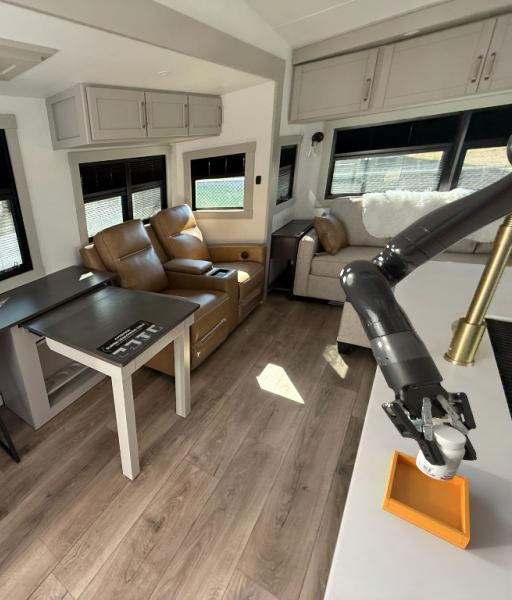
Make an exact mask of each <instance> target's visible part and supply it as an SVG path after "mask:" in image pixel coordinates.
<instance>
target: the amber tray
mask: <svg viewBox="0 0 512 600" xmlns="http://www.w3.org/2000/svg"><path fill="white" fill-rule="evenodd" d="M416 459H417V457H413V456H411V455H408V454H406V453H403V452H401V451H398V450H394V452H393V453H392V457H391V460H390V465H389V470H388V475H387V481H386V485H385V489H384V495H383V500H382V504H381V509H383V510H385V511H386V512H389V513H390V514H392V515H394V516H397V517H398V518H400V519H403V521H404V520H405V521H406V522H408V523H410V524H413V525H414V526H416V527H418V528H420V529H422V530H424V531H425V532H428V533H430V534H432V535H434V536H436V537H438V538H440V539H441V540H444V541H446V542H448V543H450V544H452V545H454V546H456V547H457V548H460V549H462V550H463V551H464V550H466V548H467V546H468V544H469V543H470V541H471V517H470V514H471V513H470V481H469V478H466V477H463V476H461V475H458V474H457V473H456V474H455V476H454V478H453V479H452V480H450V481H441V480H437V479H434V478H432V477H430V476H428V475H426V474H425V473H423V472H422V471H421V470H420V469H419V468H418V466H417V464H416Z"/></svg>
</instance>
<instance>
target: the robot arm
mask: <svg viewBox="0 0 512 600" xmlns="http://www.w3.org/2000/svg"><path fill="white" fill-rule="evenodd" d="M505 151H506V152H505V154H506V158H507V161H508V163H509V165H510V166H511V167H512V134H511V135H510V136H509V139H508V141H507V144H506V150H505ZM511 214H512V171H511V172H509V173H508V174H506V175H505V176H503V177H501V178H500V179H498V180H496V181H494V182H492V183H490V184H489V185H486V186H484V187H483V188H481V189H478V190H476V191H474V192H472V193H470V194H467V195H465V196H463V197H460V198H457V199H455V200H452V201H451V202H448V203H446V204H444V205H441V206H439V207H437V208H436V209H434V210H431V211H429V212H428V213H426V214H424V215H422V216H421V217H419V218H417V219H416V220H415V221H413V222H412V223H410V224H409V225H408V226H406V227H404V229H402V230H400V231H399V232H398V233H396V234H395V235H394V236H393V237H391V238H390V239H388V240H387V242H386V243H385V245H384V247H383V249H382V250H381V251H380V252H379V253H378V254H377V255H375V256H374V257H372V258H371V259H363V258H361V259H356V260H352V261H350V262H348V263H346V264H345V265H344V266H343V267H342V269H341V270H340V272H339V277H338V278H339V284H340V286H341V289H342V291H343V293H344V294H345V296H346V298H347V301H348V302H349V303H350V305H351V306H352V308H353V310H354V311H355V312H356V314H357V317H358V318H359V321H360V324H361V327H362V329H363V331H364V333H365V335H366V337H367V339H368V341H369V342H368V343H369V345H370V348H371V351H372V354H373V357H374V358H375V361H376V362H377V365H378V367H379V370H380V372H381V374H382V376H383V378H384V380H385V382H386V384H387V385H386V386H387V387H388V388H389V389H391V390H392V391H393V393H394V400H393V401H390V402H386V403H382V404H381V409H382V410H383V411H384V412H385V415H386V416H387V417H388V419H389V420H390V421H391V423H392V424H393V426H394V427H395V429H396V430H397V431H398V433H399V435H400V436H401V437H403V438H405V439H411V440H414V441H416V443H417V445H418V446H419V450H420V449H421V451H422V453H423V455H424V457H425V459H426V460H427V461H428V462H429V463H430V464H431V465H436V466H443V465H446V463H445V461H444V459H443V456H442V454H441V452H440V450H439V448H438V446H437V444H436V442H435V441H433V440H432V439H433V437H432V431H431V428H432V426H434V421H435V422H436V423H438V424H441V425H447V426H450V427H452V428H455V429H456V430H458V431H460V432H461V433H462V434H464V436H465V437H466V443H465V446H464V448H465V454H464V457H463V459H462V461H469V462H473V461H477V460H478V456H477V451H476V449H475V447H474V445H473V444H472V442H471V440H470V438H469V431H471V430H476V429H477V425H476V424H477V423H476V420H475V418H474V414H473V410H472V407H471V405H470V401H469V397H468V395H467V393H465V392H464V391H459V392H457V391H456V392H450V391H447V389H446V388H444V386H442V382H443V381H444V378H443V376H442V374H441V372H440V370H439V369H438V367H437V365H436V362H435V361H434V359H433V356H432V355H431V354H430V353H431V352H430V351H429V350H428V348H427V346H426V344H425V342H424V341H423V339H422V337H420V335H419V333H418V332H417V330H416V328H415V326H414V325H413V323H412V320H411V319H410V317H409V315H408V314H407V312H406V310H405V309H404V308H403V306H402V305H401V304H400V303H399V302H398V301H397V298H396V296H395V294H394V292H393V290H392V289H393V288H394V287H395V286H397V285H398V284H399V283H400V282H402V281H403V280H405V278H407V277H408V276H409V275H410V274H412V273H413V272H414V270H416V269H418V268H419V267H421V266H423V265H424V264H426V263H428V262H429V261H431V260H433V259H435V258H436V257H438V256H439V255H441V254H442V253H444V252H446V251H447V250H449V249H450V248H452V247H454V246H455V245H457V244H458V243H460V242H461V241H463V240H465V239H467V238H468V237H469V236H472V235H473V234H475V233H477V232H478V231H480V230H483V229H484V228H486V227H488V226H489V225H491V224H493V223H495V222H497V221H499V220H502V219H503V218H505V217H508V216H509V215H511ZM463 419H464V420H463ZM433 420H434V421H433Z"/></svg>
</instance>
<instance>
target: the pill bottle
mask: <svg viewBox="0 0 512 600" xmlns="http://www.w3.org/2000/svg"><path fill="white" fill-rule="evenodd" d="M431 431H432V437H433V439H432V440H433V441H435V442H436V444H437V446H438V448H439V450H440V452H441V454H442V456H443V459H444V461H445V463H446V465H443V466H436V465H431V464H430V463H429V462H428V461H427V460H426V459H425V457H424V455H423V453H422V451H421V449H420V448H419V452H418V454H417V457H416V464H417V466H418V468H419V469H420V470H421V471H422V472H423V473H425V474H426V475H428V476H430V477H432V478H434V479H437V480H441V481H450V480H452V479H453V478H454V476H455V474H456V475H457V472H458V470H459V468H460V465H461V463H462V461H463V460H462V459H463V457H464V454H465V448H464V446H465V443H466V437H465V436H464V434H462V433H461V432H460V431H458V430H456V429H455V428H452V427H450V426H447V425H441V424H440V423H438V424H433V425H432V426H431Z"/></svg>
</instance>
